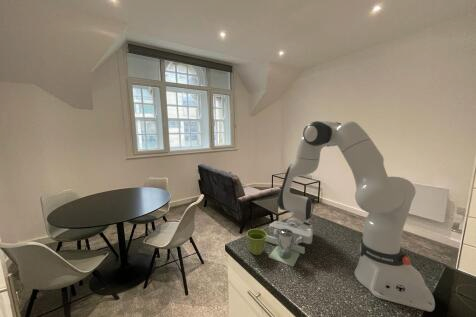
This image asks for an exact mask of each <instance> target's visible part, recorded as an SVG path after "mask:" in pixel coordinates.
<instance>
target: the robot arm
mask: <svg viewBox="0 0 476 317" xmlns="http://www.w3.org/2000/svg"><path fill="white" fill-rule="evenodd" d="M298 142H299V143H298V145H297V150H296V155H295V160H294V162H292V164H290V165H289V166H288V168H287V170H286V172H285V175H284V178H283V182H282V185H281V187H280V191H279V194H278V197H277V199H276V205H277V207H279V209H280V210H282V211H285V212H290V213H292V215H291V216H290V217H289V218H288V219H287V220H285V222H283V221H280V220H274V221H273V222H271V223H270V224H269V226H268V231H269V232H270V233H271V234H273V236H272V237H275V238H279V230H280V229H289V230H291V231H292V240H293V243H294V244H297V245H299V244H300V243H304V244H308V245H311V244H312V242H313V237H314V236H313V233H314V231H313V225H312V224H310V223H309V221H310V218H311V217H312V215H313V213H314V203H313V201H312V199H311V198H310V197H307V196H304V195H299V194H297V193H296V194H295V193H292V192H291V191H290V190H291V188H292V184H293V180H294V179H295V178H297V177H301V176H307V175H311V174H313V173H315V172H316V171H317V170H318V168H319V163H320V159H321V158H320V157H321V151H322V149H323V148H325V147H327V148H328V147H335V146H337V147H338V149H339V150H340V152H341V154H342V155H343V158H344V160H345V161H346V163H347V164H348V167H349V168H350V171H351V172H352V174H353V175H352V176H353V179H354V182H355V186H356V188H355V194H354V199H355V202H356V204H357V206H358V207H359V208H360V209H361V210H362V211H364V212H365V213H367V216H366V217H365V219H364V222H363V232H362V233H363V234H362V239H361V240H360V246H359V255H360V256H359V260H358V262H357V266H356V268H355V270H354V277H355V278H356V280H358V282H359V283H360V284H361V285H362V286H364V287H365V288H366V289H367V290H369V292H370V293H371V294H372V295H373V296H374V297H376V298H378V299H382V300H385V301H387V302H393V303H396V304H400V305H404V306H407V307H410V308H415V309H417V310H418V309H419V310H422V311H426V312H430V313H431V312H433V311H434V310H435V307H436V302H435V297H434V295H433V294H432V291H431V290H430V288H429V287H427V285H426V283H425V280H424V278H423V276H422V274H421V272H420V271H418V270H417V269H416V268H415V267H414V266H413V265H411V259H410V258H409V257H408V255H407V254H408V253H406V251H405V250H404V248H401V244H402V238H403V237H402V236H403V231H404V228H405V223H406V221H407V218H408V215H409V212H410V208H411V205H412V203H413V200H414V198H415V196H416V187H415V185H414V184H413V183H412V182H411V181H410V180H408V179H407V178H403V177H400V176H388V174H387V171H386V168H385V164H384V162H385V159H384V155H382V154H381V152H380V150H379V149H378V148H377V146H376V144H375V143H374V142H373V140H372V138H371V137H370V136H369V135H368V133H367V132H366V131H365V130H364V129H363V128H362V126H360V125H359V124H358V123H357V122H355V121H352V120H349V121H345V122H343V123H341V122H337V121H336V122H334V121H328V120H324V121H317V120H316V121H311V122H309V123H308V124H306V125H305V127H304V128H303V132H302V136H301V138H300V140H299V141H298Z"/></svg>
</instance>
